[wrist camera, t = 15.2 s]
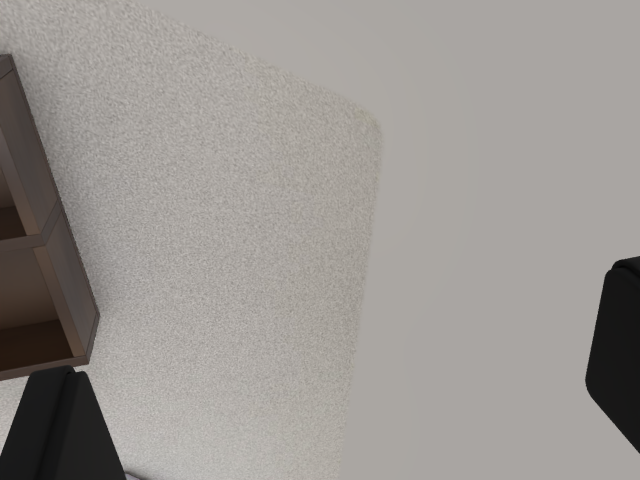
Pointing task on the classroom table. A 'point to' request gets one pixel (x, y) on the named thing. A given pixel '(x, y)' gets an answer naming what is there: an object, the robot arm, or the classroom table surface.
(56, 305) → the compartment tray
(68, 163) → the classroom table surface
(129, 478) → the charger
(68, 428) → the robot arm
